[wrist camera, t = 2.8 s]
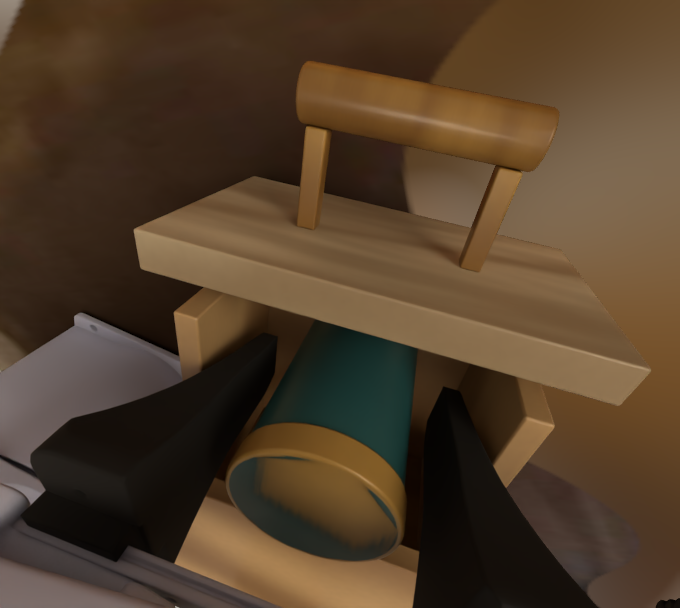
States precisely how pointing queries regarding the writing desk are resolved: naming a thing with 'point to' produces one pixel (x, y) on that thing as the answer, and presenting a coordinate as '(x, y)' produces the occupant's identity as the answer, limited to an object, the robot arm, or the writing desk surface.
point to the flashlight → (668, 604)
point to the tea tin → (332, 448)
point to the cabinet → (289, 564)
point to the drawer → (399, 271)
